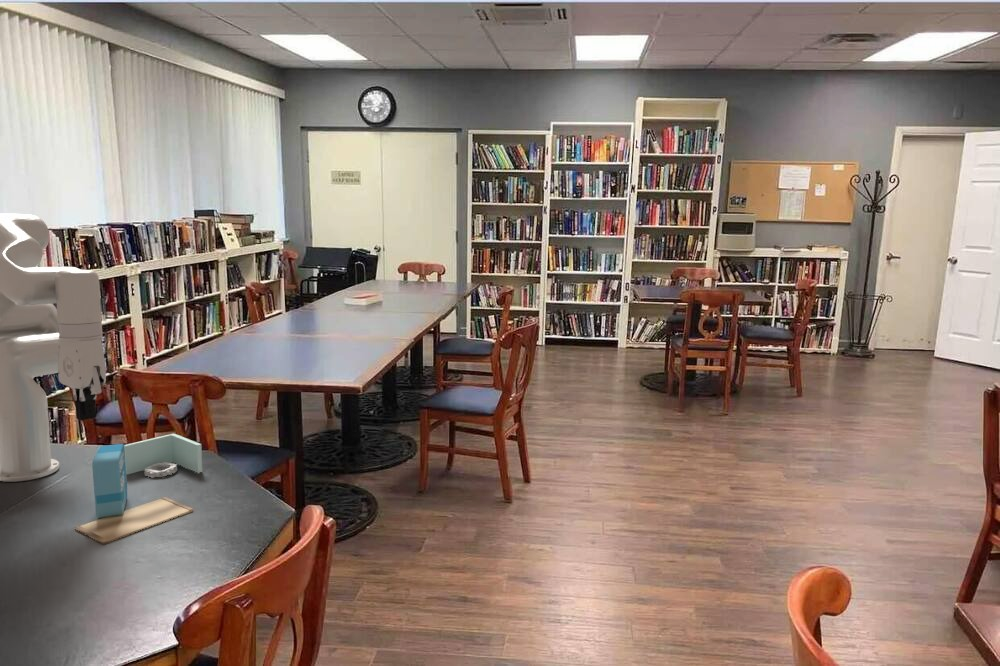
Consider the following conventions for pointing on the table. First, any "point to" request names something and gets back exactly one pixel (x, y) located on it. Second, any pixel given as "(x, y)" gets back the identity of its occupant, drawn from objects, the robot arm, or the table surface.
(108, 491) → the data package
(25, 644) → the table surface
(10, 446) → the robot arm
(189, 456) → the mint corner bracket
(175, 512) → the wooden board
